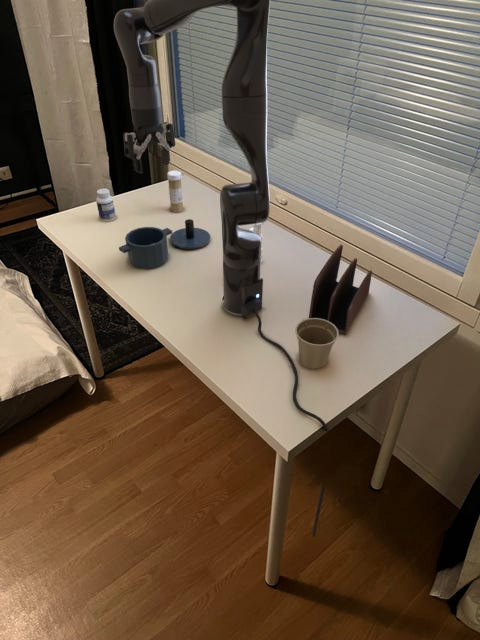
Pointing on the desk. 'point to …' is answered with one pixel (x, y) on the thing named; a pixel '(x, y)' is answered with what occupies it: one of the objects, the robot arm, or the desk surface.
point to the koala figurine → (257, 231)
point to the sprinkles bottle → (175, 191)
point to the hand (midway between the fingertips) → (152, 168)
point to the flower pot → (315, 341)
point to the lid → (190, 236)
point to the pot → (146, 247)
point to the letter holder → (338, 294)
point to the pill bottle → (105, 205)
